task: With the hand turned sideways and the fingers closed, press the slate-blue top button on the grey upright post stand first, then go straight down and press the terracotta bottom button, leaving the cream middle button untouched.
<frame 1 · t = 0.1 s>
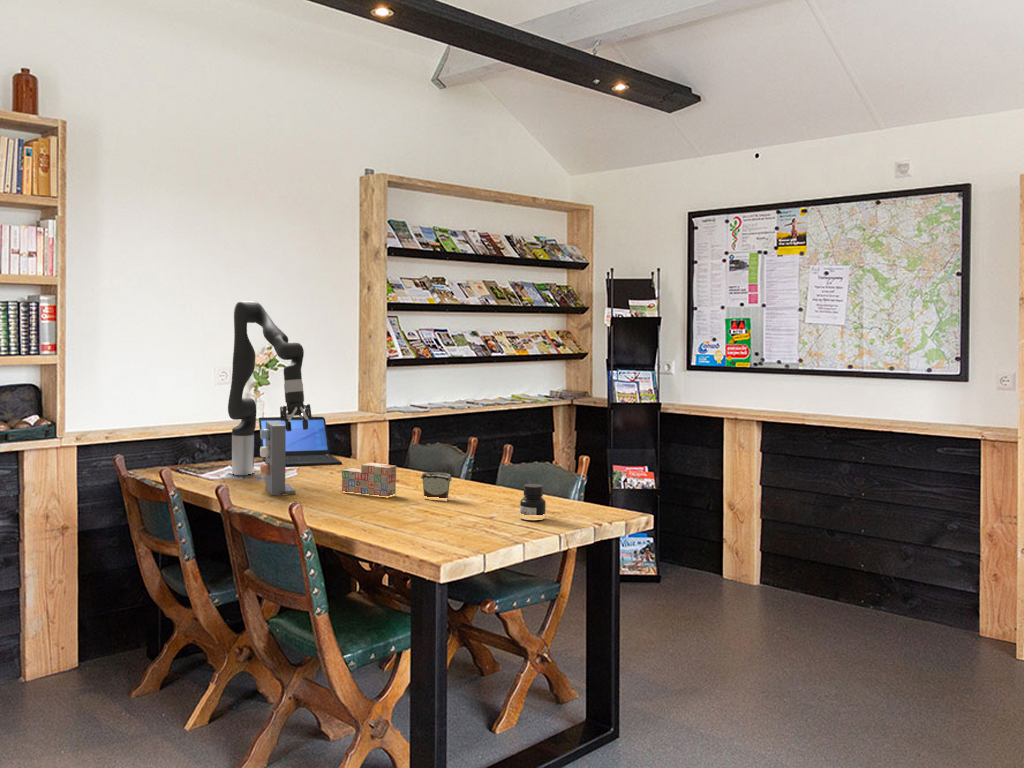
hand: (297, 430, 363), 22 cm above the table, tool pointing down, fingers open, 8 cm apart
stack of blocks: (368, 495, 348), on the table
grey upright post stand: (268, 492, 348), on the table
cream button: (266, 451, 347), point 16 cm above the table, slide at 0.0 cm
ink bottle: (532, 519, 312), on the table
terracotta button: (266, 469, 347), point 9 cm above the table, slide at 0.0 cm
laptop: (299, 461, 428), on the table
food container: (438, 499, 342), on the table
slate button: (266, 434, 346), point 23 cm above the table, slide at 0.0 cm
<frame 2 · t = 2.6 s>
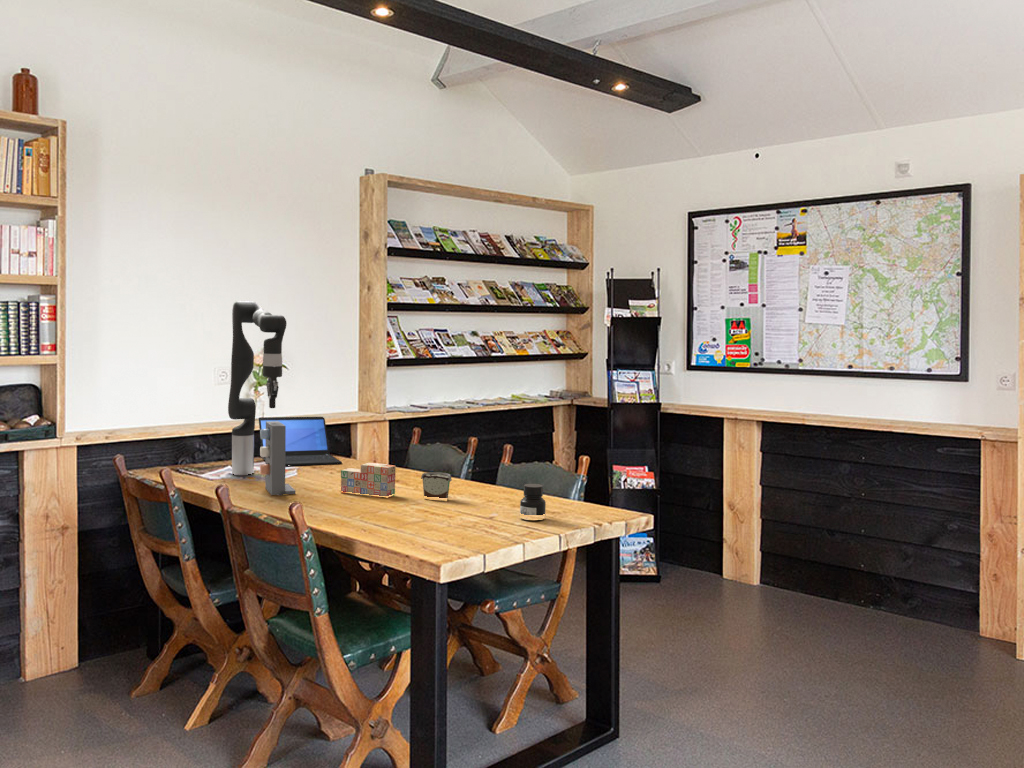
hand: (272, 408, 355), 32 cm above the table, tool pointing down, fingers closed
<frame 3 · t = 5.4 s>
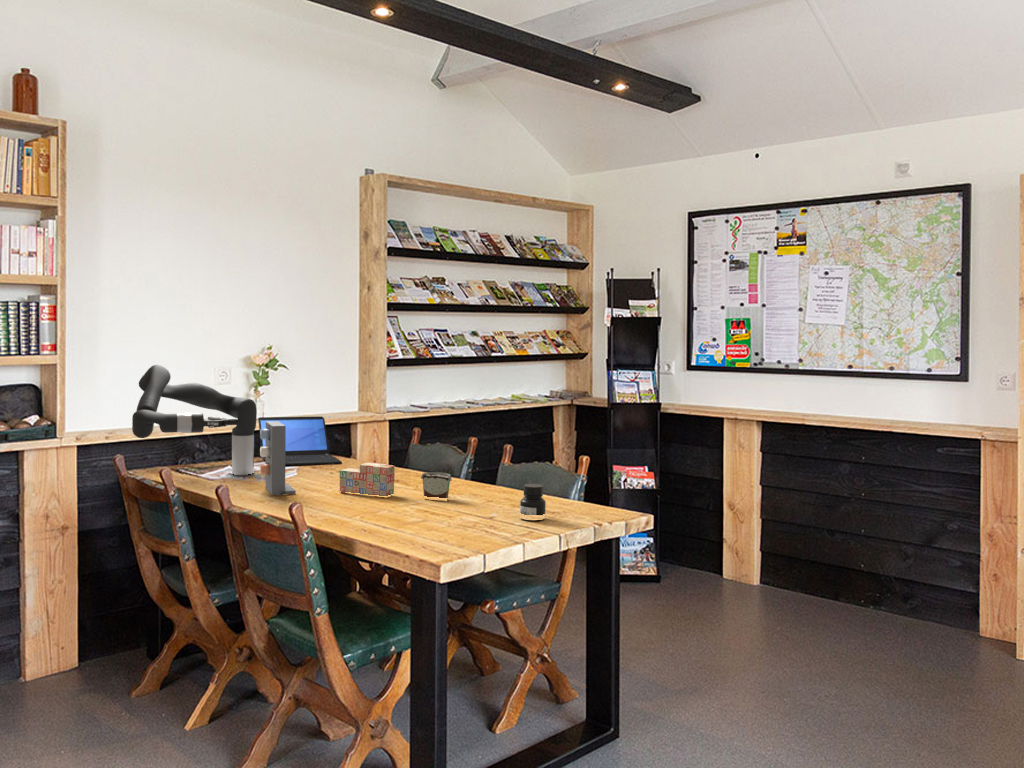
hand: (237, 421, 341), 28 cm above the table, tool horizontal, fingers closed
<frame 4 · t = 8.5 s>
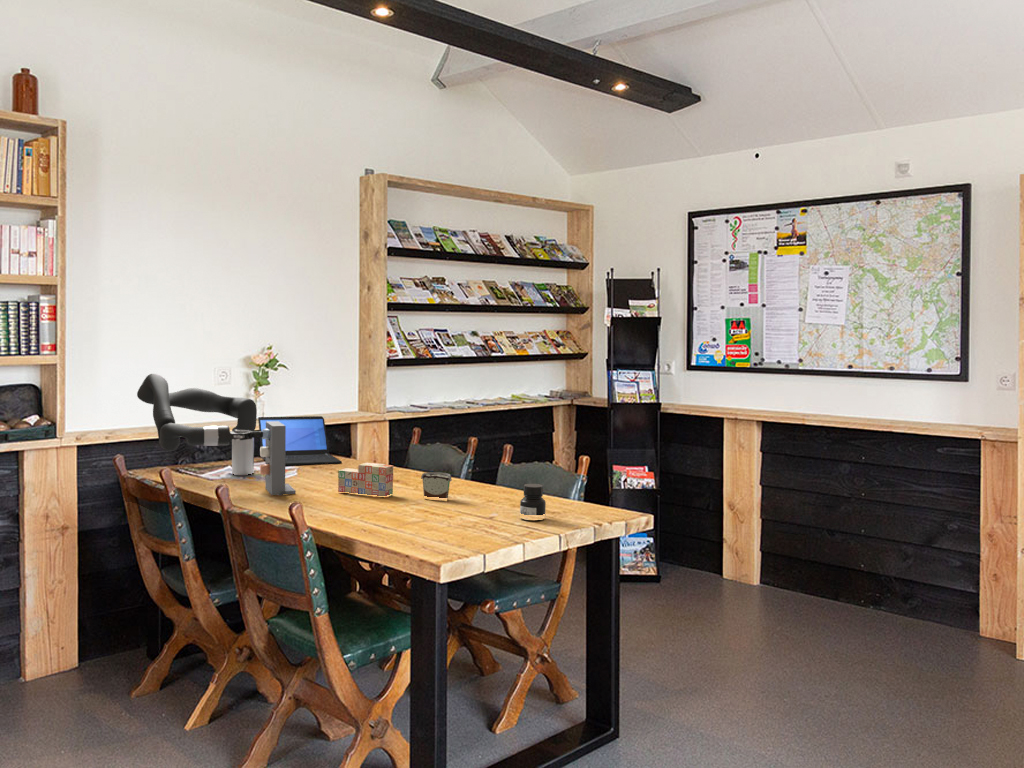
hand: (262, 434, 345), 23 cm above the table, tool horizontal, fingers closed
slate button: (267, 433, 346), point 23 cm above the table, slide at 0.6 cm, touching gripper
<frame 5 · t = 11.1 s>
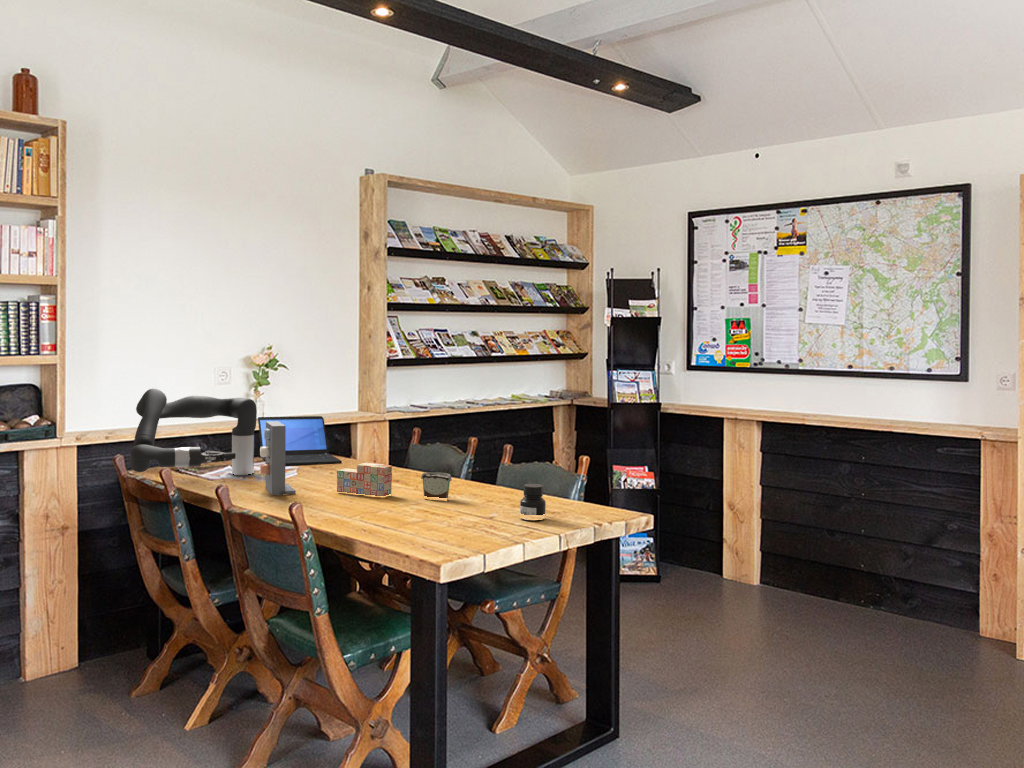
hand: (235, 455, 341), 15 cm above the table, tool horizontal, fingers closed
slate button: (269, 433, 347), point 23 cm above the table, slide at 1.4 cm
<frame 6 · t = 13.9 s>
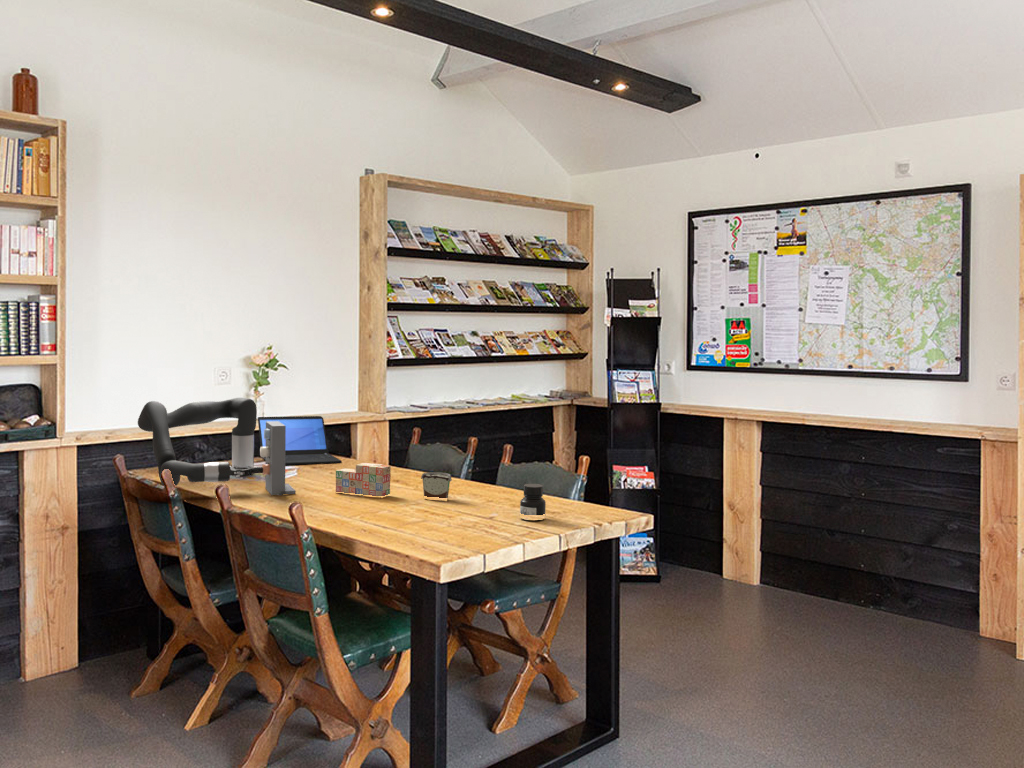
hand: (262, 469, 346), 9 cm above the table, tool horizontal, fingers closed
terracotta button: (268, 469, 347), point 9 cm above the table, slide at 0.7 cm, touching gripper
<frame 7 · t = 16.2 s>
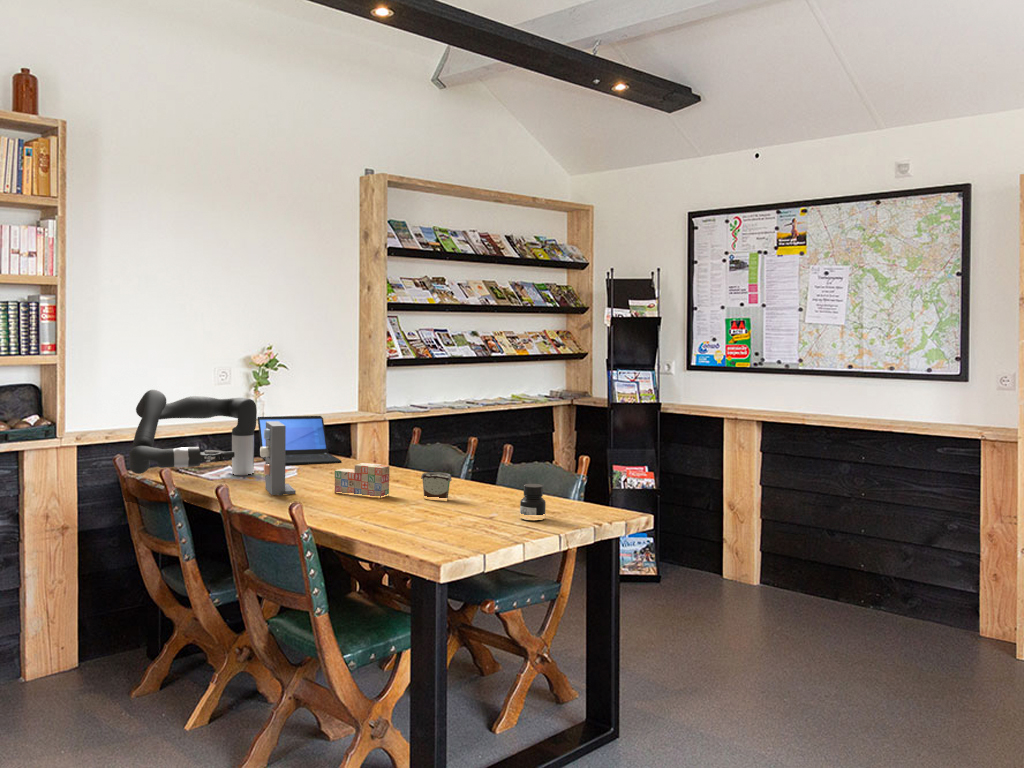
hand: (234, 454, 341), 15 cm above the table, tool horizontal, fingers closed
terracotta button: (269, 469, 348), point 9 cm above the table, slide at 1.4 cm
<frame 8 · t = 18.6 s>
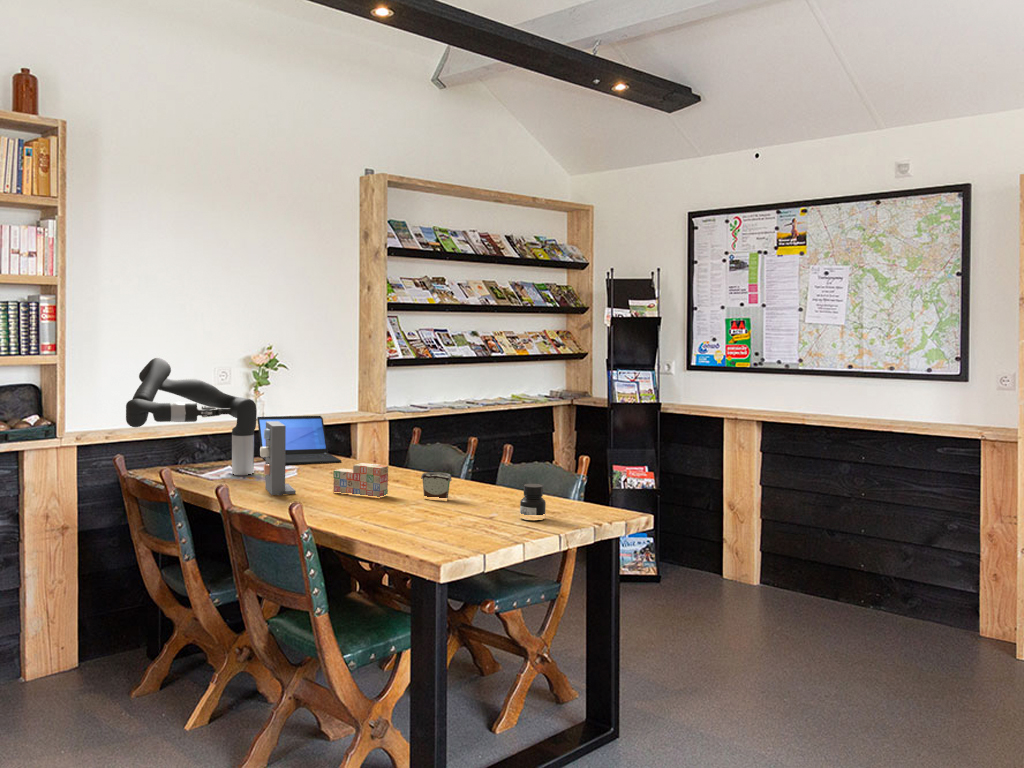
hand: (231, 411, 342), 32 cm above the table, tool horizontal, fingers closed
at the end: slate button slide at 1.4 cm; terracotta button slide at 1.4 cm; cream button slide at 0.0 cm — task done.
